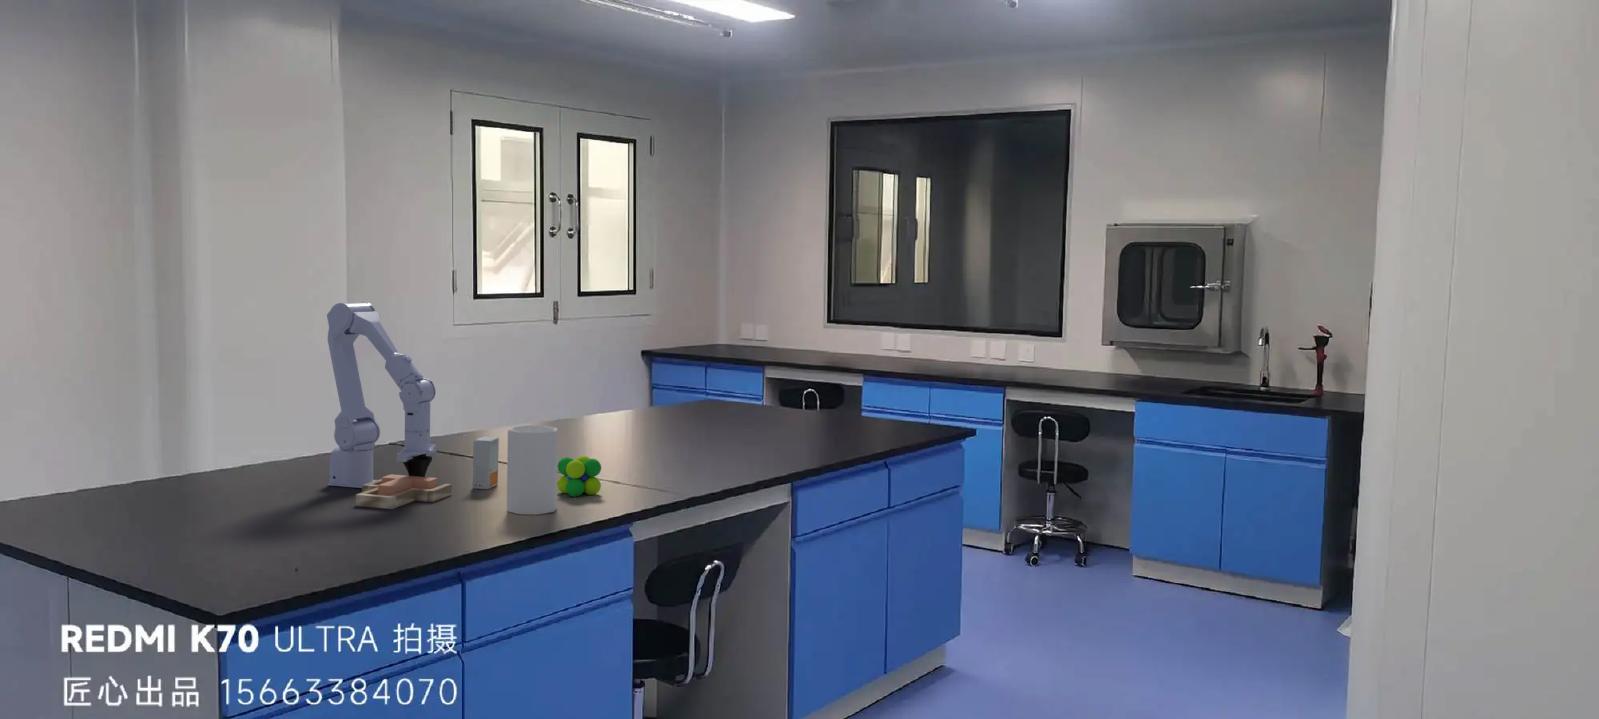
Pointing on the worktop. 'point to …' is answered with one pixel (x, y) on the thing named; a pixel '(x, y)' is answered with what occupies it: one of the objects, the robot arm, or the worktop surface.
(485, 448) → the skincare box
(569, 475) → the molecule model
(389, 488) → the tee
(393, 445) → the worktop surface
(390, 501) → the nest
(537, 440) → the cup
